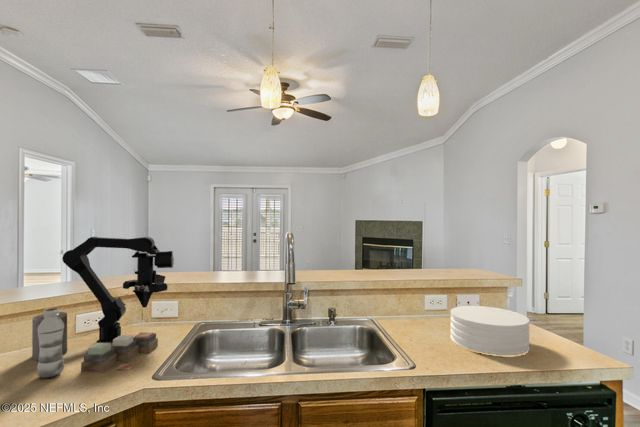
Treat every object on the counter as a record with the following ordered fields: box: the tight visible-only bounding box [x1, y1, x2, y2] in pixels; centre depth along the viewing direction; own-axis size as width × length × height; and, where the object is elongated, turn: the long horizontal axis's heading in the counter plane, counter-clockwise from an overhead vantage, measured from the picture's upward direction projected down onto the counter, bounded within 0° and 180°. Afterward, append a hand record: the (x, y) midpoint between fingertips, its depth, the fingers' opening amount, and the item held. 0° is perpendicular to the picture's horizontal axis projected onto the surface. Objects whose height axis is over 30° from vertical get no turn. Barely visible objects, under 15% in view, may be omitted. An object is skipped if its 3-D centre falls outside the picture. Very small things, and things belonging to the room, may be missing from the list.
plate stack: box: [449, 305, 531, 355], centre depth 139 cm, size 28×28×12 cm
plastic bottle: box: [36, 307, 65, 379], centre depth 106 cm, size 6×7×20 cm
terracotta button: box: [134, 331, 154, 338], centre depth 128 cm, size 4×4×2 cm
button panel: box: [80, 332, 159, 373], centre depth 120 cm, size 14×22×5 cm, turn 1°
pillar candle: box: [31, 311, 68, 361], centre depth 122 cm, size 10×10×15 cm
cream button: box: [112, 334, 134, 346], centre depth 120 cm, size 4×4×2 cm
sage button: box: [87, 342, 112, 355], centre depth 112 cm, size 4×4×2 cm
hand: (144, 307), depth 141 cm, fingers closed
